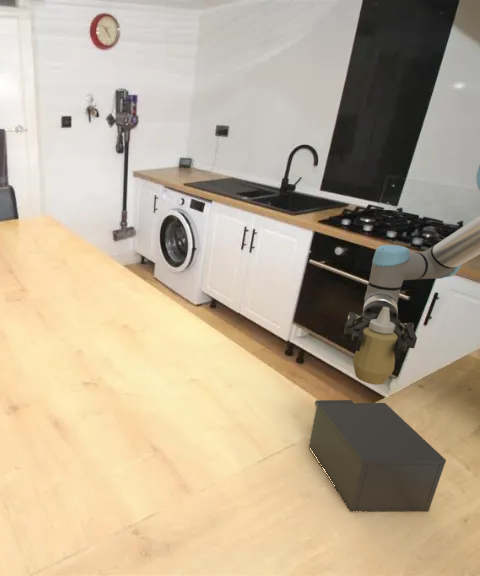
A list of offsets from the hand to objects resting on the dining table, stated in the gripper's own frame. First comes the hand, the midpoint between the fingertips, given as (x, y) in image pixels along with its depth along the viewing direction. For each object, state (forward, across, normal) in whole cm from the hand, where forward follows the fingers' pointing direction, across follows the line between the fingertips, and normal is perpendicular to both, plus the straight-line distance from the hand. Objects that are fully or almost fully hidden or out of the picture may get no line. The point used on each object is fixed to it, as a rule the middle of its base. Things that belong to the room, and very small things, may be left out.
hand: (378, 349), depth 89 cm
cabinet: (+25, -1, -14) cm, 29 cm away
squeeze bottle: (-5, 0, -10) cm, 11 cm away
